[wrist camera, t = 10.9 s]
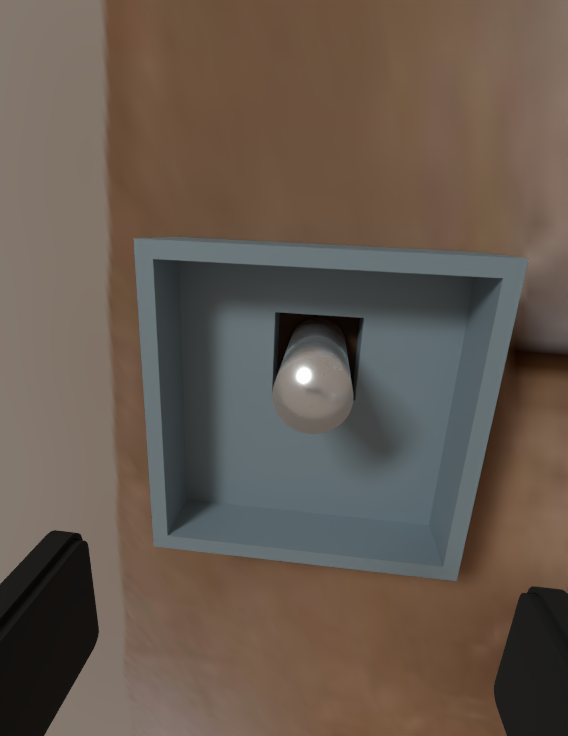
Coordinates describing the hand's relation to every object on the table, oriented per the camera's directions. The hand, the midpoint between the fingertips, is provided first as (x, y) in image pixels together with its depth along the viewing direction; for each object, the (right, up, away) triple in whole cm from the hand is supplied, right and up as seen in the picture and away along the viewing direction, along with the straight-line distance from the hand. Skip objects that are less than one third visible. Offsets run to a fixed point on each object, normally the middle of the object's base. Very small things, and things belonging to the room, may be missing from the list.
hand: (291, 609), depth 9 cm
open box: (+2, +4, +22) cm, 22 cm away
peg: (+2, +7, +21) cm, 22 cm away
